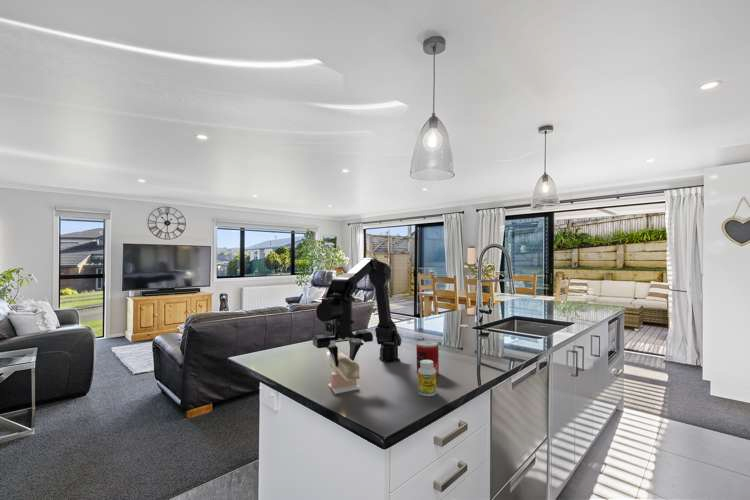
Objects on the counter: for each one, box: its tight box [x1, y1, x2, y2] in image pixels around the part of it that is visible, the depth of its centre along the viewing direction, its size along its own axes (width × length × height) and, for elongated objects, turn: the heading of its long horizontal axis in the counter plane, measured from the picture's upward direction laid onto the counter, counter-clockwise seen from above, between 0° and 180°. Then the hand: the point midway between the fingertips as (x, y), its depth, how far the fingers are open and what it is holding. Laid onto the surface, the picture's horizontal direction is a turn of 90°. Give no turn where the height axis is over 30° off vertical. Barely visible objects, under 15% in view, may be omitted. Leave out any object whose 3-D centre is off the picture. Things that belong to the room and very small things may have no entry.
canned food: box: [415, 339, 440, 377], centre depth 119 cm, size 8×8×11 cm
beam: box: [329, 351, 360, 381], centre depth 108 cm, size 4×16×4 cm, turn 26°
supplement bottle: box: [417, 360, 437, 397], centre depth 102 cm, size 5×5×10 cm
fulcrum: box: [327, 371, 361, 395], centre depth 108 cm, size 8×7×5 cm
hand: (343, 365), depth 108 cm, fingers open, 5 cm apart
